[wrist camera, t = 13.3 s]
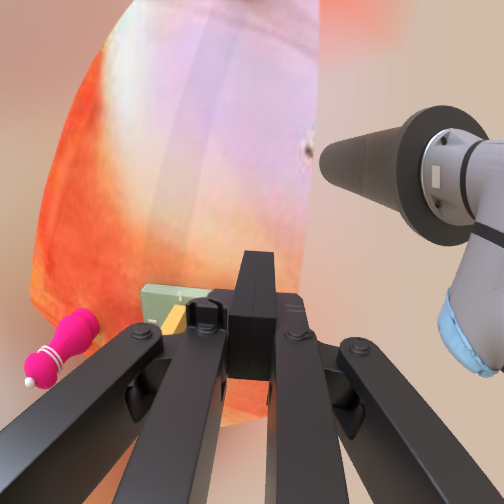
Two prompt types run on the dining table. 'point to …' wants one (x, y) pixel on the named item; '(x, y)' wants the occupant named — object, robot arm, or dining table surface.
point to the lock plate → (165, 300)
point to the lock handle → (175, 321)
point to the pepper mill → (61, 348)
